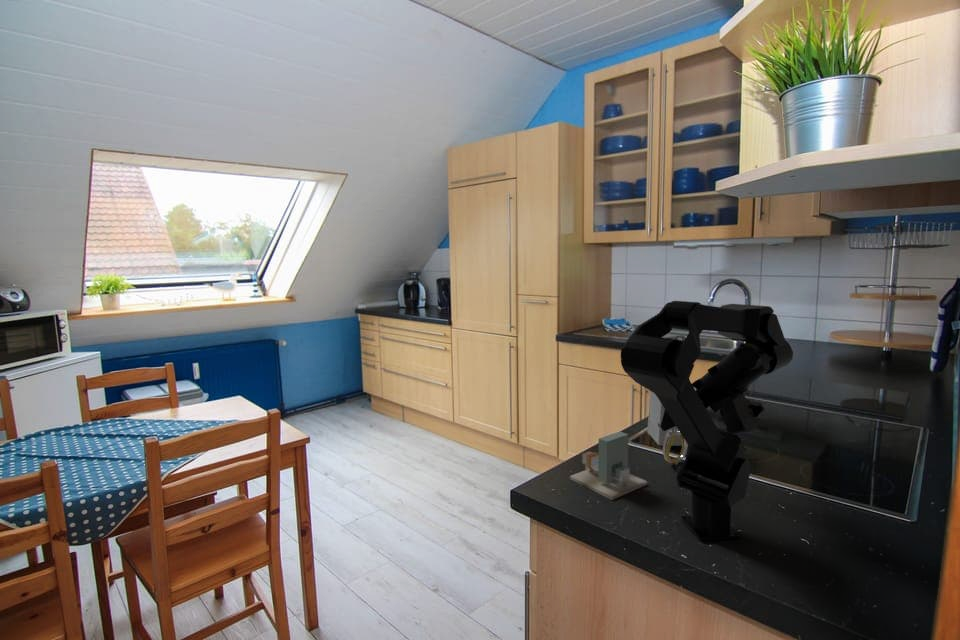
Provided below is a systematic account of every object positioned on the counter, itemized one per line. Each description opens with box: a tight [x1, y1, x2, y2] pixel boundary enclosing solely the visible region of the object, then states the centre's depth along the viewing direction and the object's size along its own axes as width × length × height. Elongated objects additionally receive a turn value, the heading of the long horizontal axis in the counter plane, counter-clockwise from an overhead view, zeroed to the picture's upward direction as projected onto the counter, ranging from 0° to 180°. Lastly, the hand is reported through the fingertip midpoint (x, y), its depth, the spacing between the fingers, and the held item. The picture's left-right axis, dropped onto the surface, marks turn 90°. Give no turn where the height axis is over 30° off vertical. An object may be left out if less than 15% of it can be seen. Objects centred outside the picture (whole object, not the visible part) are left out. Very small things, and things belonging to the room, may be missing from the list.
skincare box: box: [647, 390, 682, 447], centre depth 115 cm, size 8×6×15 cm
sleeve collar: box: [598, 431, 629, 484], centre depth 95 cm, size 3×6×8 cm, turn 124°
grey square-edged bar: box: [581, 451, 630, 487], centre depth 96 cm, size 10×2×4 cm, turn 34°
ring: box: [662, 427, 689, 466], centre depth 103 cm, size 7×3×8 cm, turn 119°
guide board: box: [569, 469, 648, 501], centre depth 96 cm, size 10×10×1 cm
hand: (675, 420), depth 94 cm, fingers open, 9 cm apart
